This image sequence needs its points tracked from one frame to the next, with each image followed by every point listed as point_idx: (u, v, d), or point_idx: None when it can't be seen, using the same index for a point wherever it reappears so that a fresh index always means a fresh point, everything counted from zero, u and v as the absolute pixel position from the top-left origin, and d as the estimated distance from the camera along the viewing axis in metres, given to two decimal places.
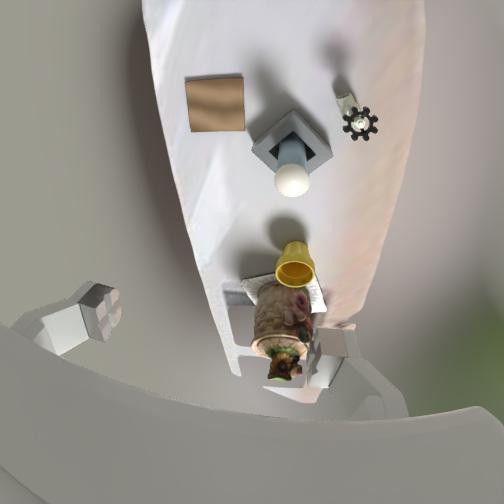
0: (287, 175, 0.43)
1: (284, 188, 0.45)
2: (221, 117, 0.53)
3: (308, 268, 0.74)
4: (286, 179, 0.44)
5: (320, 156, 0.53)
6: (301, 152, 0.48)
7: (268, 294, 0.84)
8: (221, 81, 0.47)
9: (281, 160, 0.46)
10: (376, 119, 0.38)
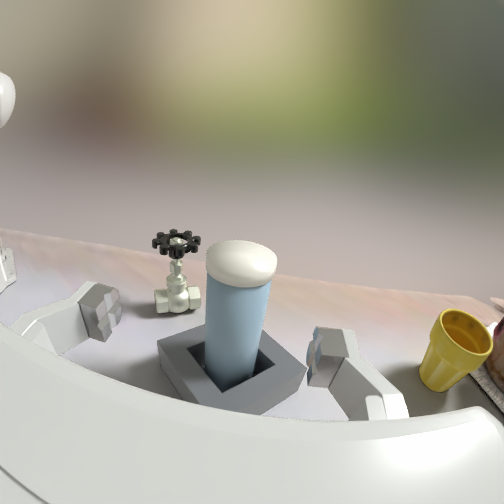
0: (225, 257, 0.22)
1: (256, 264, 0.21)
2: None
3: (450, 332, 0.32)
4: (235, 259, 0.22)
5: None
6: None
7: None
8: None
9: (211, 305, 0.23)
10: (173, 229, 0.38)
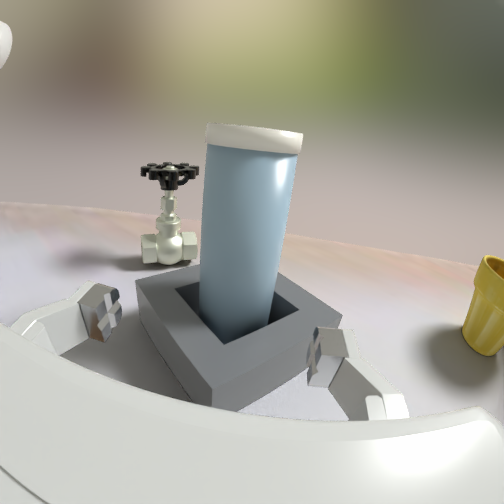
0: None
1: None
2: None
3: None
4: None
5: None
6: None
7: None
8: None
9: (210, 196, 0.15)
10: (167, 162, 0.31)
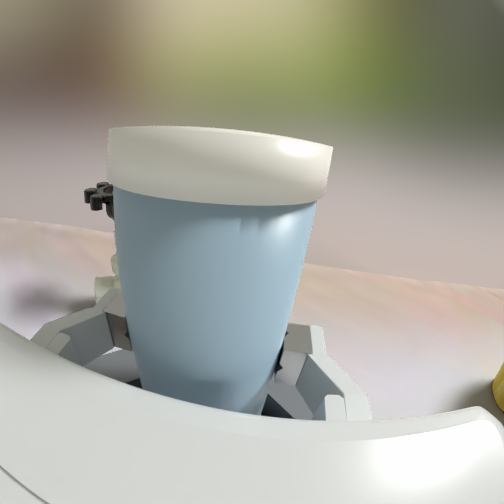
0: (167, 127, 0.06)
1: (270, 136, 0.06)
2: None
3: None
4: None
5: None
6: None
7: None
8: None
9: (124, 293, 0.07)
10: None
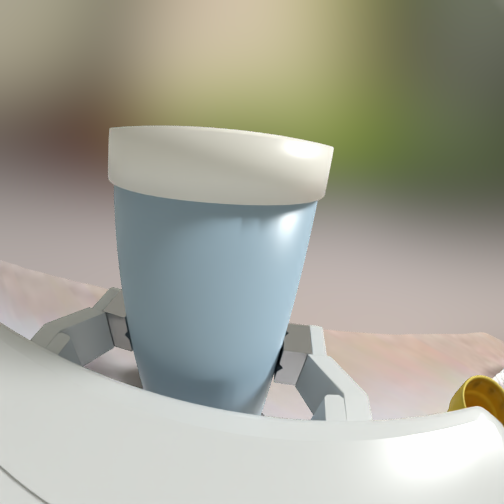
0: (168, 127, 0.06)
1: (271, 136, 0.06)
2: None
3: (469, 397, 0.24)
4: (195, 128, 0.06)
5: None
6: None
7: None
8: None
9: (125, 292, 0.07)
10: None
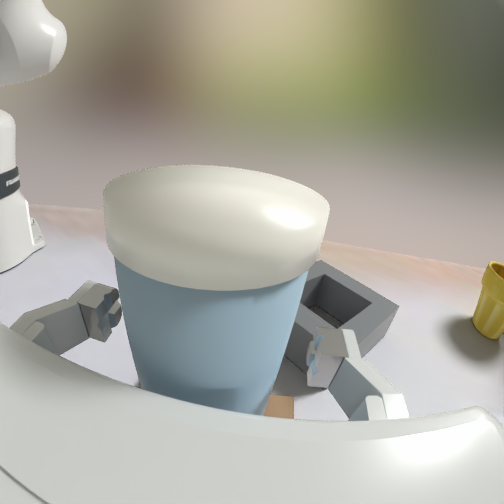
0: (162, 187, 0.06)
1: (266, 205, 0.06)
2: None
3: None
4: (190, 191, 0.06)
5: (326, 270, 0.33)
6: None
7: None
8: None
9: (130, 339, 0.07)
10: None
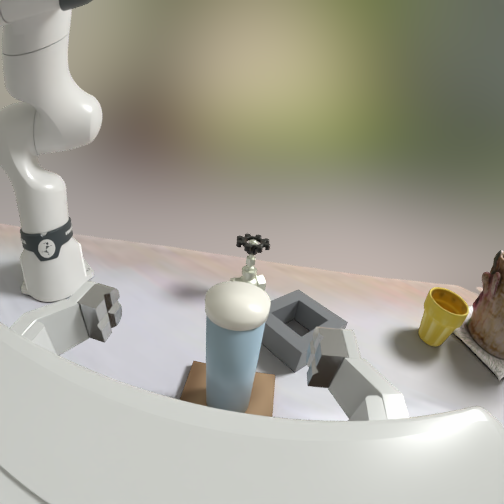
0: (223, 301, 0.24)
1: (252, 309, 0.23)
2: None
3: (439, 305, 0.48)
4: (231, 304, 0.23)
5: (300, 297, 0.50)
6: None
7: (494, 333, 0.39)
8: (189, 383, 0.33)
9: (211, 343, 0.24)
10: (247, 234, 0.54)
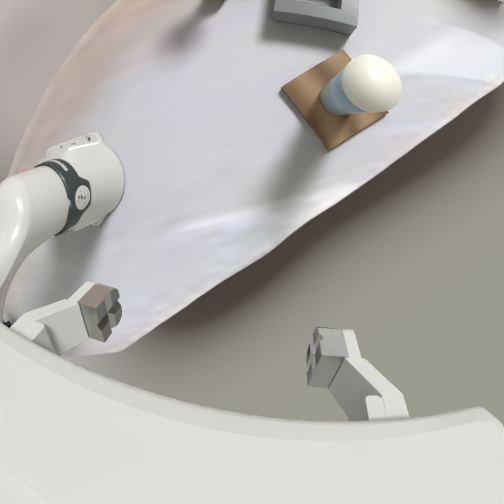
0: (369, 95, 0.20)
1: (391, 86, 0.19)
2: None
3: None
4: (376, 92, 0.20)
5: None
6: (330, 88, 0.27)
7: None
8: (302, 107, 0.36)
9: (359, 111, 0.24)
10: None
